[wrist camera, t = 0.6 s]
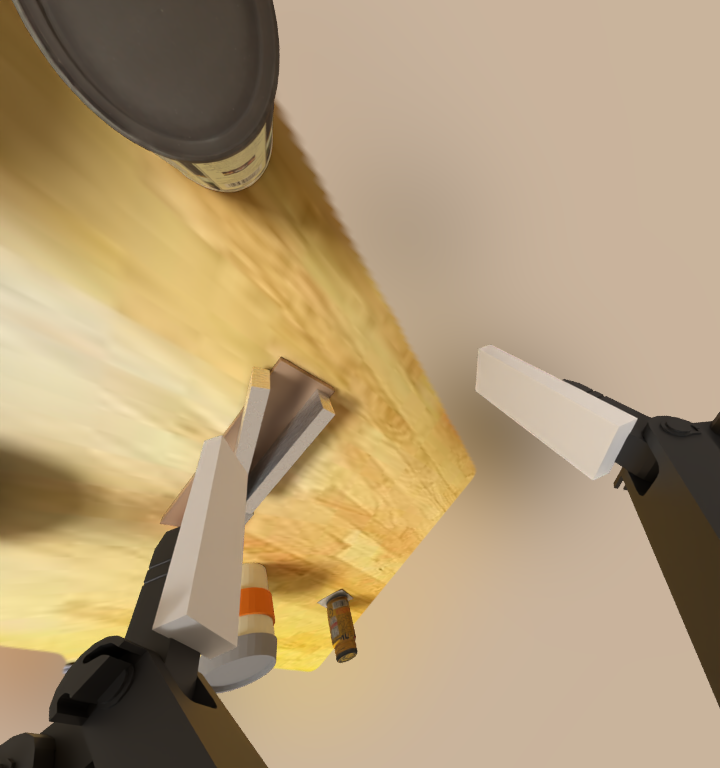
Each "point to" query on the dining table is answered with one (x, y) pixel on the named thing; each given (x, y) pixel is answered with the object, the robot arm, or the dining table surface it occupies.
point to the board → (264, 421)
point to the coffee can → (172, 76)
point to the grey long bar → (287, 449)
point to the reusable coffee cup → (246, 637)
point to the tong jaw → (252, 416)
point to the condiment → (340, 625)
